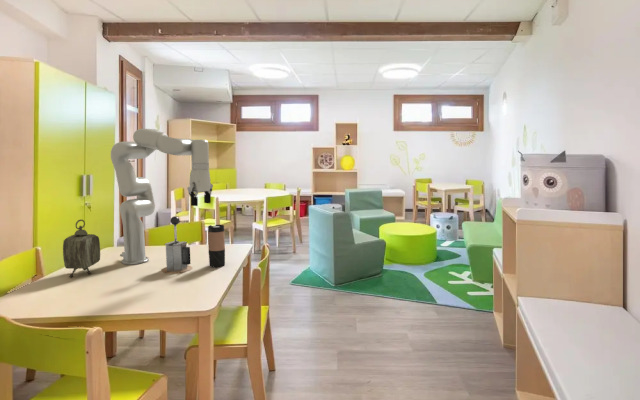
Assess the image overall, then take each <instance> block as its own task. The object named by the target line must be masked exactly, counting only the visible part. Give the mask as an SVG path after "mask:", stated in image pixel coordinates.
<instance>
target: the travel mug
mask: <svg viewBox="0 0 640 400" xmlns="http://www.w3.org/2000/svg"><path fill="white" fill-rule="evenodd" d="M207 233H208V234H207V235H208V236H207V237H208V238H207V239H208V241H207V242H208V245H207V246H208V260H209V261H208V263H209V264H208V265H209V267H210V268H222V267H225V265H226V241H225V225H223V224H215V225H212V224H211V225H208V226H207Z"/></svg>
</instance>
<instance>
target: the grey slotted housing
mask: <svg viewBox="0 0 640 400" xmlns="http://www.w3.org/2000/svg"><path fill="white" fill-rule="evenodd" d="M187 244H188V241H179V240H177V243H176V244H175V240H173V241H170V242H166V243H164V245H165V257H166V258H165V259H166V260H165V262H166V267H167V271H169V272H179V271H184V270H186V269H187V265H188V266H190V265H191V264H192V263H191V246H187Z"/></svg>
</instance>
